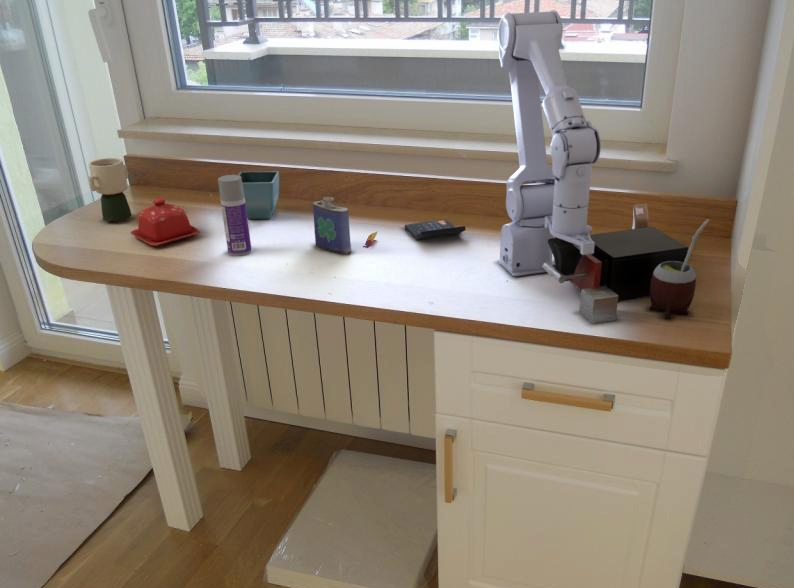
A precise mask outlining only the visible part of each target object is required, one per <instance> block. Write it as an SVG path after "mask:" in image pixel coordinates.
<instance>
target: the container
mask: <svg viewBox="0 0 794 588" xmlns="http://www.w3.org/2000/svg"><path fill="white" fill-rule="evenodd" d="M217 181H218V183H217V184H218V192H219V200H220V207H221V215H222V221H223V226H224V227H223V228H224V234H225V239H226V246H227V253H228V255H230V256H232V257H242V256H247V255H249V254H251V253H252V251H253V250H252V243H251V235H250V234H251V233H250V227H249V219H248V218H247V211H246V204H245V197H244V191H243V185H242V179H241V176H239V174H227V175H226V174H225V175H222V176H220V177H218V178H217Z"/></svg>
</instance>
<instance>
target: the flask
mask: <svg viewBox="0 0 794 588" xmlns="http://www.w3.org/2000/svg"><path fill="white" fill-rule="evenodd" d="M334 200H335V198H334V197H333V196H330V197H329V196H325V197H323V199H321V200H320V201H314V202H313V203H312V214H313V226H314V227H313V229H314V241H315V242H314V243H315V244H314V245H315V247H316V248H318V249H320V250H322V251H328V252H331V253H335V254H338V255H349V254H350V253H352V243H351V232H350V213H349V208H348V207H342V206H337V205H333V204H334Z"/></svg>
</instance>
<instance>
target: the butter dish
mask: <svg viewBox="0 0 794 588" xmlns="http://www.w3.org/2000/svg"><path fill="white" fill-rule="evenodd" d="M152 204H153V205H151V206H148V207H145V208H144V209H143V210H141V211H140V212H139V213H138V219H137V220H138V222H137V223H138V225H137V226H138V227H137V228H136V229H132V230H131V231H129V233H130V234H131V235H132V236H134V237H135V238H137V239H139V240H140V241H142V242H143V243H146V244H147V245H150V246H154V247H155V246H162V245H166V244H169V243H170V244H171V243H173V242H177V241H180V240H184V239H188V238H190V237H193V236H195V235H198V234H200V233H201V231H200V230H199V229H198V228H197V227H195V226H193V225H191V223H190V220H189V218H188V215H187V213H186V211H184V209H183V208H181V207H180V206H178V205H176V204H174V203H167V202H166V199H165V198H163V197H156V198H154V199H153V200H152Z"/></svg>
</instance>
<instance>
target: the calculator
mask: <svg viewBox="0 0 794 588" xmlns="http://www.w3.org/2000/svg"><path fill="white" fill-rule="evenodd" d="M404 229H405V230H406V232H407V233H408V234H410V235H411V237H412V238H413V239H414V240H415V241H417V240H427V239H432V238H440V237H447V236H454V235H459V234H461V233H463V232H465V231H466V226H465V225H463V226H454V225H453V224H452V223H451V222H450V221H449V220H447V219H439V220H438V219H437V220H430V221H423V222H416V223H407V224H404Z"/></svg>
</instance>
